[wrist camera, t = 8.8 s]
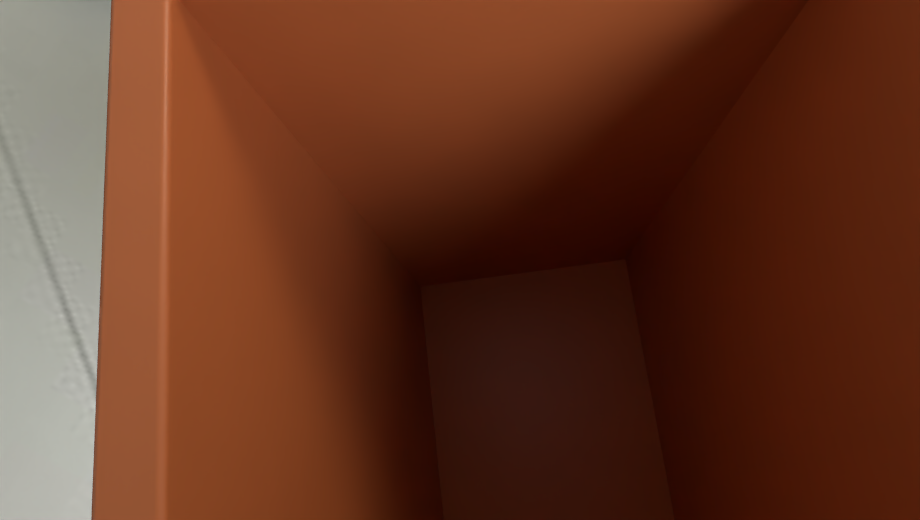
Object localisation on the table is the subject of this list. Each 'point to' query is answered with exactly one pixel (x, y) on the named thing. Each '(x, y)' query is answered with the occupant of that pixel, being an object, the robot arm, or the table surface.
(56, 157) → the table surface
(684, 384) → the orange bin
